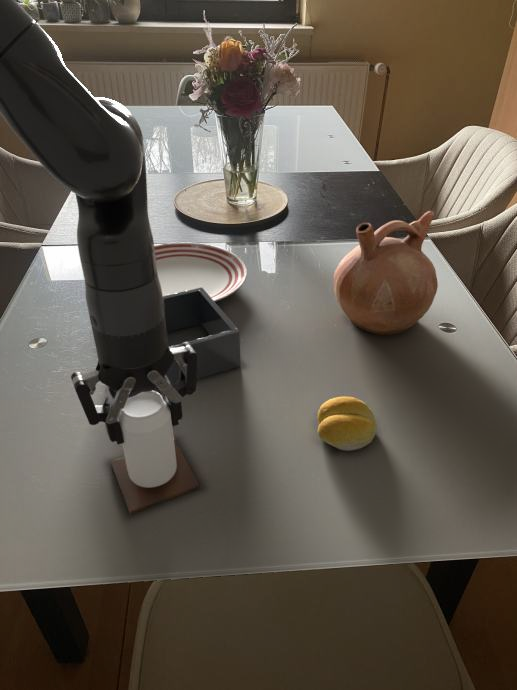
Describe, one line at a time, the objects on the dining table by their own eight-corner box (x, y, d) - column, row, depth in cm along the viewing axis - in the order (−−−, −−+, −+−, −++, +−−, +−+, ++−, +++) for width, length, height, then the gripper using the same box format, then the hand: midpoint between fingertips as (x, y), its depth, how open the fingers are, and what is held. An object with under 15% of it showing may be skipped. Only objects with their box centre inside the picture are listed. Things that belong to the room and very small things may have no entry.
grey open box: (147, 394, 83) (141, 358, 79) (119, 341, 94) (113, 307, 90) (240, 366, 89) (240, 331, 85) (204, 319, 100) (202, 287, 96)
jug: (396, 287, 111) (412, 192, 99) (450, 333, 97) (476, 229, 85) (315, 302, 106) (322, 204, 94) (359, 353, 92) (375, 245, 80)
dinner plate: (269, 270, 116) (269, 256, 114) (202, 333, 96) (201, 317, 95) (165, 246, 127) (163, 232, 125) (85, 298, 107) (81, 283, 105)
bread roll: (317, 452, 73) (319, 430, 71) (316, 408, 80) (318, 387, 78) (378, 455, 73) (382, 434, 70) (372, 410, 80) (375, 390, 78)
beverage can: (184, 460, 71) (177, 391, 64) (165, 496, 66) (155, 426, 59) (141, 450, 72) (130, 382, 66) (120, 485, 68) (105, 415, 61)
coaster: (129, 514, 65) (129, 512, 64) (111, 464, 71) (110, 461, 71) (199, 487, 68) (199, 485, 68) (175, 442, 75) (175, 439, 74)
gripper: (180, 282, 61) (190, 395, 70) (49, 312, 55) (79, 429, 65) (206, 314, 55) (213, 431, 65) (62, 350, 50) (93, 472, 60)
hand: (146, 430), depth 65 cm, fingers closed on beverage can, 6 cm apart
